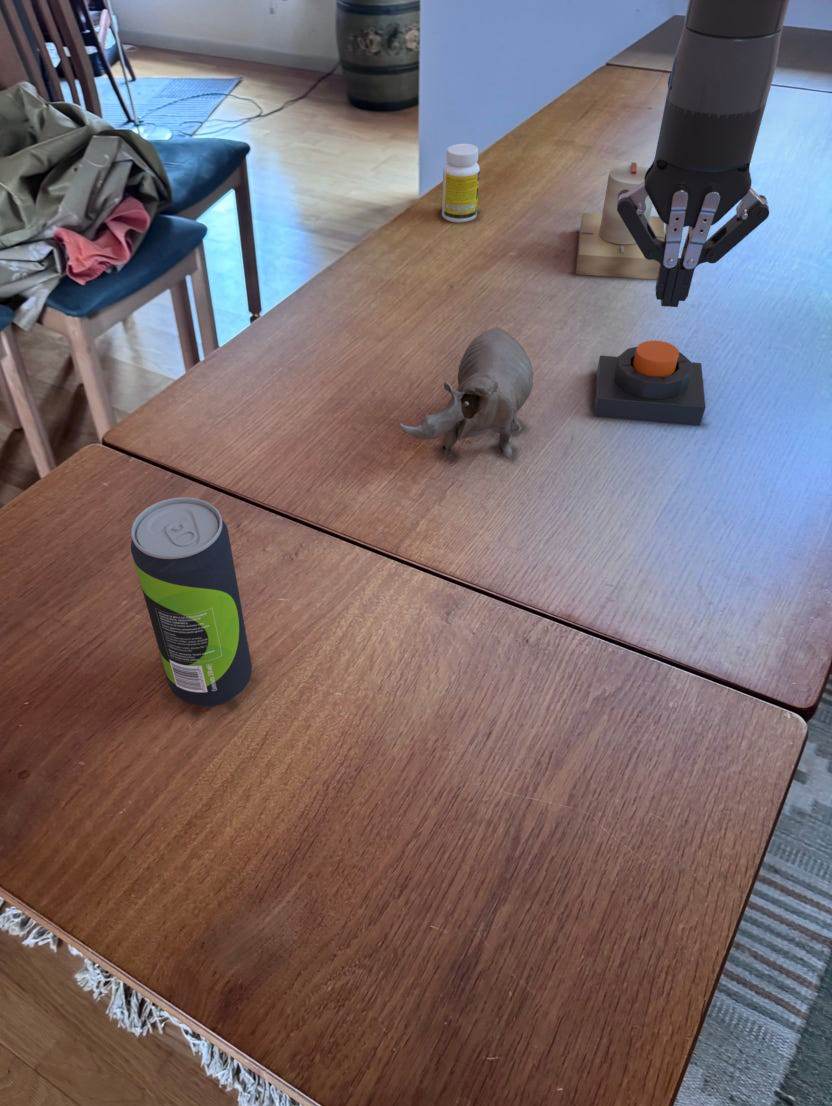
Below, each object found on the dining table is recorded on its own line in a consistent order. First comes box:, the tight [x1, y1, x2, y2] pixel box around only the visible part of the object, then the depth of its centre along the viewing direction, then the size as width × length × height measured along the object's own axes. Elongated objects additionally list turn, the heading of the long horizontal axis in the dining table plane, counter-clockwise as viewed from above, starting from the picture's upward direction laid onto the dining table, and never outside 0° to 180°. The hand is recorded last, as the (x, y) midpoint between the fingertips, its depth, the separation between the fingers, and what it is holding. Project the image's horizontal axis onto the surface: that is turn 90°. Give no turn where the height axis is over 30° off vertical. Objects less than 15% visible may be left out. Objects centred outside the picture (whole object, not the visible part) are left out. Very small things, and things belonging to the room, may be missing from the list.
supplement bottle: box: [441, 143, 481, 224], centre depth 119 cm, size 5×5×8 cm
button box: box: [594, 346, 706, 427], centre depth 89 cm, size 10×8×4 cm
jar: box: [599, 162, 654, 245], centre depth 108 cm, size 6×6×7 cm
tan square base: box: [575, 212, 665, 280], centre depth 111 cm, size 10×12×3 cm
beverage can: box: [130, 496, 253, 707], centre depth 62 cm, size 6×6×15 cm
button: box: [633, 340, 680, 377], centre depth 88 cm, size 4×4×2 cm
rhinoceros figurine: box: [398, 327, 534, 459], centre depth 84 cm, size 8×14×15 cm
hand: (669, 302), depth 84 cm, fingers closed
